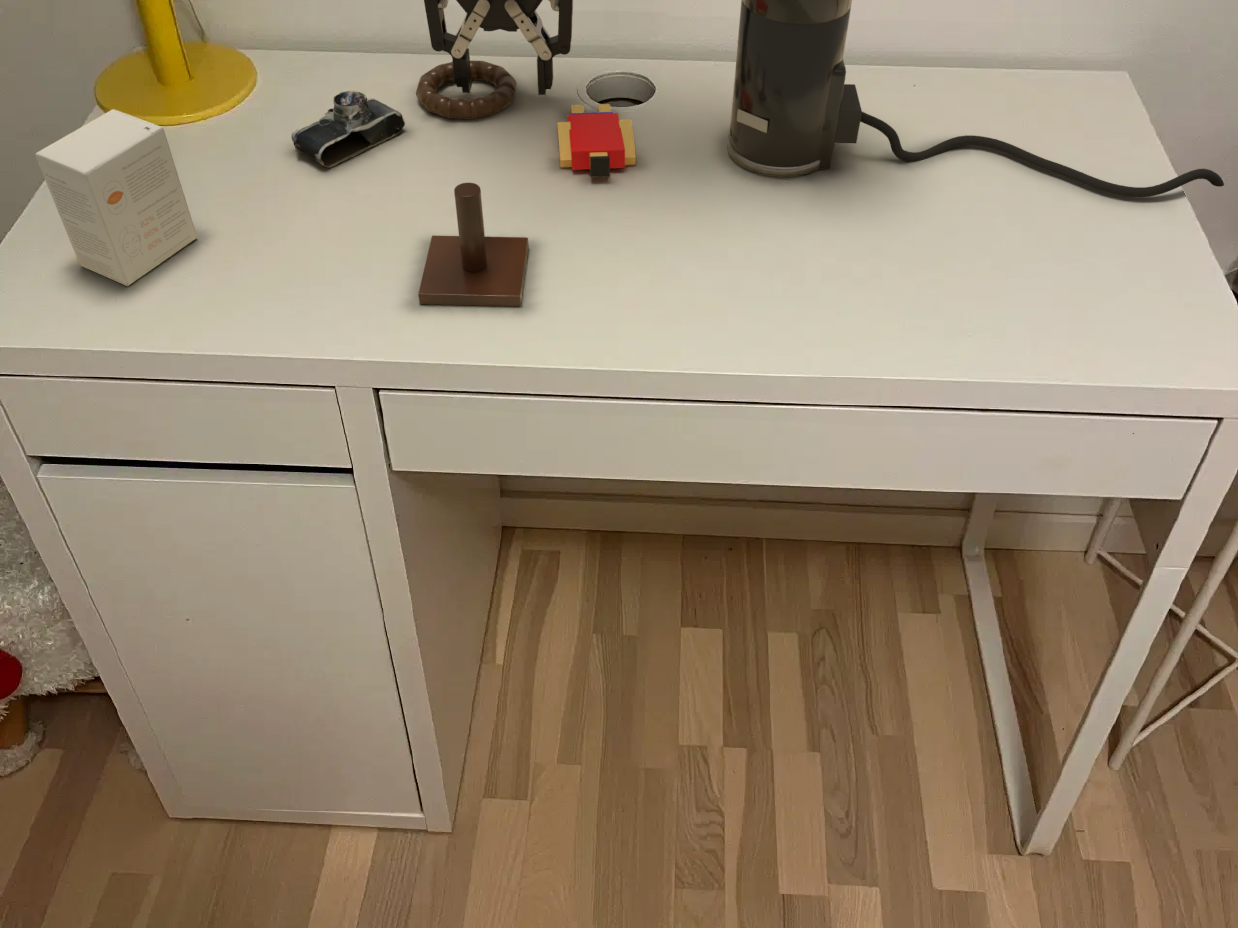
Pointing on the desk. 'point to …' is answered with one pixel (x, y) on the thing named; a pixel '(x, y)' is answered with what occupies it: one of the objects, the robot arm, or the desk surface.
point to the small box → (118, 195)
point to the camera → (348, 129)
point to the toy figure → (596, 141)
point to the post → (473, 261)
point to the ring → (466, 106)
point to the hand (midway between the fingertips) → (505, 90)
